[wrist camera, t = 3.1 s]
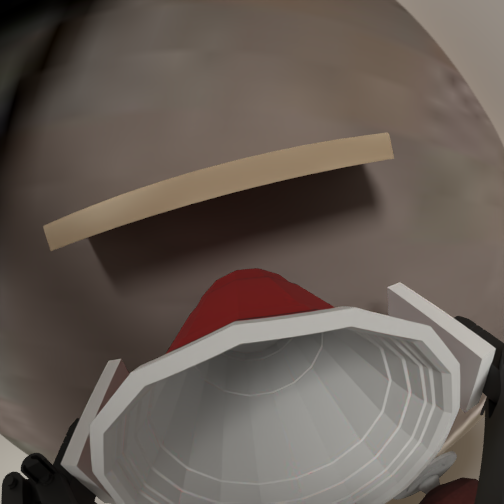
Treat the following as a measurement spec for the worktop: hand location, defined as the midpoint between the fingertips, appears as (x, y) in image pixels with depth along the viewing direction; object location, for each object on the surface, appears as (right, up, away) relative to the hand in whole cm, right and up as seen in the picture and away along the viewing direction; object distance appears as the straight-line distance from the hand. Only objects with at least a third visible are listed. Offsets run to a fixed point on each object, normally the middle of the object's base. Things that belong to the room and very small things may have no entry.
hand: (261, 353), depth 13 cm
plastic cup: (-1, +1, +4) cm, 5 cm away
